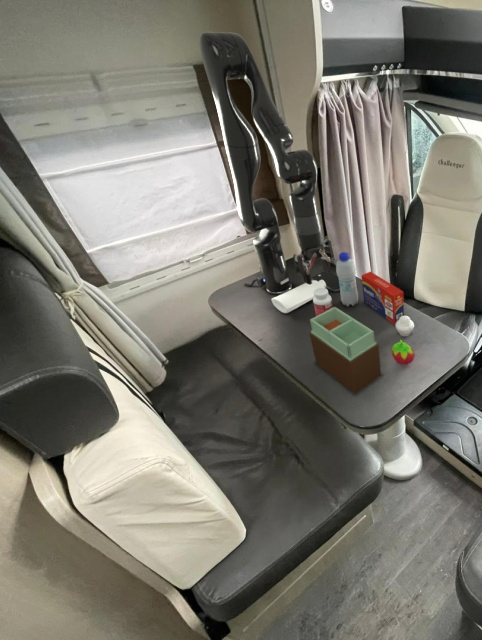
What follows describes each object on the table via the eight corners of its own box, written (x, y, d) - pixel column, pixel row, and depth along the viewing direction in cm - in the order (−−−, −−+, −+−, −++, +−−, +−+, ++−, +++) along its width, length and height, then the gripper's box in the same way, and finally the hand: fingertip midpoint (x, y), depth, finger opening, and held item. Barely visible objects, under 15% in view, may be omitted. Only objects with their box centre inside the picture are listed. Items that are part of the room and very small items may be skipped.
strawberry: (403, 376, 106) (402, 350, 100) (388, 362, 111) (386, 337, 104) (418, 367, 109) (418, 342, 102) (403, 354, 113) (402, 329, 107)
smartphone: (325, 270, 150) (350, 282, 143) (325, 272, 151) (350, 284, 144) (310, 278, 146) (335, 290, 139) (310, 279, 147) (335, 292, 139)
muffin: (392, 332, 122) (391, 315, 117) (406, 325, 124) (406, 308, 120) (403, 341, 118) (402, 324, 113) (417, 334, 121) (418, 317, 116)
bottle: (356, 309, 132) (350, 258, 118) (338, 307, 133) (330, 256, 119) (361, 299, 136) (356, 249, 123) (344, 297, 137) (337, 247, 124)
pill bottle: (329, 325, 125) (324, 297, 117) (313, 321, 126) (307, 294, 118) (337, 315, 129) (333, 288, 121) (322, 312, 130) (317, 285, 123)
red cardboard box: (404, 320, 127) (403, 291, 119) (395, 324, 125) (394, 296, 117) (372, 298, 137) (370, 271, 129) (364, 302, 135) (361, 275, 127)
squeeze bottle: (273, 306, 133) (269, 295, 129) (316, 285, 144) (314, 273, 140) (288, 317, 128) (285, 305, 125) (332, 293, 139) (330, 282, 136)
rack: (316, 363, 110) (305, 319, 99) (342, 347, 116) (335, 304, 105) (354, 394, 101) (347, 349, 90) (380, 375, 107) (377, 331, 95)
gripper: (316, 217, 112) (324, 265, 122) (280, 234, 103) (293, 284, 114) (334, 222, 109) (341, 271, 119) (299, 240, 100) (311, 291, 111)
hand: (318, 277), depth 116 cm, fingers open, 8 cm apart
